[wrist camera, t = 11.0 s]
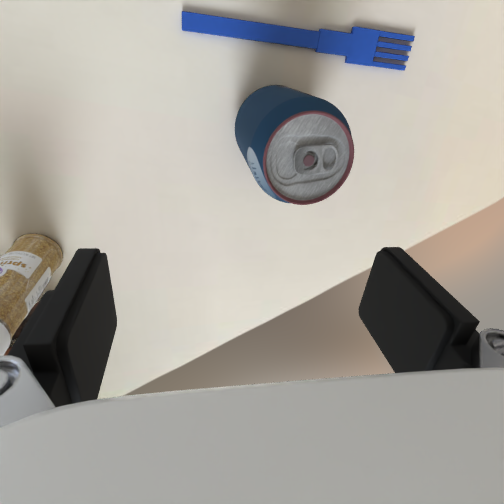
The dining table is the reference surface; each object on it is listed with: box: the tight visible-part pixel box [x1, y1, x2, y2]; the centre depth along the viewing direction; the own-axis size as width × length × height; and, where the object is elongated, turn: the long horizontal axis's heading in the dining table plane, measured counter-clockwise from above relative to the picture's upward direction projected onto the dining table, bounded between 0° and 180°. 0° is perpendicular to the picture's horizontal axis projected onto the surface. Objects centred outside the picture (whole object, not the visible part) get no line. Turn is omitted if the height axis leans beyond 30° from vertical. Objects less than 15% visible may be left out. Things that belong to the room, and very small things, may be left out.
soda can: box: [235, 85, 354, 205], centre depth 25 cm, size 7×7×12 cm
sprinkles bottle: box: [0, 234, 63, 356], centre depth 28 cm, size 5×5×14 cm
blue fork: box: [182, 11, 415, 70], centre depth 27 cm, size 19×3×1 cm, turn 84°
